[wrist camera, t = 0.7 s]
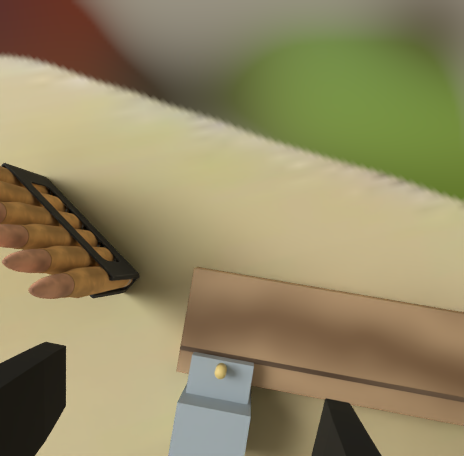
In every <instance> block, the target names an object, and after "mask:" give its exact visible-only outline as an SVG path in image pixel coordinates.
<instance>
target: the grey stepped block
mask: <svg viewBox="0 0 464 456" xmlns="http://www.w3.org/2000/svg"><path fill="white" fill-rule="evenodd" d="M253 369H254V363H252V362H247V361H241V360H236V359H230V358H225V357H220V356H214V355H209V354H203V353H198V352H194V353H193V354H192V359H191V364H190V370H189V376H188V382H187V385H186V386H185V388H184V390H183V392H182V394H181V396H180V398H179V400H178V402H177V408H176V414H175V420H174V425H173V431H172V437H171V443H170V449H169V455H168V456H245V449H246V443H247V437H248V431H249V424H250V418H251V381H252V375H253Z"/></svg>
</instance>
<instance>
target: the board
mask: <svg viewBox="0 0 464 456" xmlns="http://www.w3.org/2000/svg"><path fill="white" fill-rule="evenodd" d="M194 352H198V353H203V354H209V355H214V356H220V357H225V358H230V359H236V360H241V361H247V362H252V363H254V369H253V375H252V381H251V386H256V387H261V388H267V389H272V390H277V391H283V392H288V393H293V394H299V395H304V396H309V397H314V398H320V399H326V398H328V399H333V400H337V401H342V402H347V403H350V404H351V405H357V406H362V407H367V408H373V409H378V410H383V411H389V412H394V413H399V414H404V415H410V416H415V417H420V418H426V419H431V420H436V421H441V422H447V423H452V424H457V425H463V426H464V312H458V311H452V310H446V309H441V308H435V307H429V306H423V305H417V304H411V303H405V302H400V301H394V300H388V299H382V298H376V297H370V296H364V295H359V294H353V293H347V292H341V291H335V290H329V289H323V288H318V287H312V286H306V285H300V284H294V283H288V282H283V281H277V280H271V279H265V278H259V277H253V276H247V275H242V274H236V273H230V272H224V271H218V270H212V269H206V268H201V267H196V268H194V272H193V277H192V283H191V289H190V295H189V301H188V306H187V312H186V318H185V324H184V330H183V335H182V341H181V347H180V353H179V359H178V365H177V370H176V371H177V372H182V373H187V374H189V370H190V364H191V359H192V354H193V353H194Z"/></svg>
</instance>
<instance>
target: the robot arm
mask: <svg viewBox="0 0 464 456" xmlns="http://www.w3.org/2000/svg"><path fill="white" fill-rule="evenodd" d="M65 406H66V346H64V345H59V344H54V343H49V342H44V343H42V344H39V345H37V346H35V347H33V348H31V349H29V350H27V351H24V352H22V353H20V354H18V355H16V356H14V357H12V358H10V359H8V360H6V361H4V362H2V363H0V456H35V455H36V453H37V452H38V451H39V449H40V448H41V446H42V445H43V444H44V442H45V441H46V439H47V437H48V436H49V434H50V432H51V431H52V429H53V427H54V426H55V424H56V422H57V421H58V419H59V417H60V415H61V413H62V412H63V410H64V408H65ZM312 456H381V454H380V453H379V451H378V449H377V448H376V446H375V444H374V443H373V441H372V440H371V438H370V436H369V435H368V433H367V431H366V430H365V428H364V426H363V425H362V423H361V421H360V420H359V418H358V416H357V414H356V413H355V411H354V409H353V408H352V406H351V405H350V403H347V402H342V401H337V400H333V399H328V398H326V399H325V403H324V407H323V411H322V415H321V419H320V423H319V427H318V431H317V435H316V439H315V444H314V448H313V452H312Z"/></svg>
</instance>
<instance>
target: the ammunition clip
mask: <svg viewBox="0 0 464 456" xmlns="http://www.w3.org/2000/svg"><path fill="white" fill-rule="evenodd" d="M0 247H6V248H14V249H23V250H22V251H18V252H15V253H12V254H10V255H8V256H7V257H5V258H4V259H3V260H2V263H3V265H4V266H6V267H7V268H9V269H12V270H15V271H18V272H26V273H47V274H51V275H50V276H47V277H44V278H41V279H39V280H38V281H36V282H35V283H33V284H32V285H31V286H30V288H29V290H28V291H29V293H30V294H31V295H33V296H36V297H39V298H46V299H56V298H65V297H73V298H80V297H84V296H88V295H90V296H91V297H92V298H98V297H104V296H109V295H115V294H120V293H124V292H125V291H126V290H127V289H128V288H129V287H130V286H131V285H132V284H133V283H134V282H135V281H136V280H137V279H138V278H139V273H138V272H137V271H136V270H135V269H134V268H133V267H132V266H131V265H130V264H129V263H128V262H127V261H126V260H125V259H124V258H123V257H122V256H121V255H120V254H119V253H118V252H117V251H116V249H115V248H114V247H113V246H112V245H111V244H110V243H109V242H108V241H107V240H106V239H105V238H104V237H103V236H102V235H101V234H100V233H99V232H98V231H97V230H96V229H95V228H94V227H93V226H92V225H91V224H90V223H89V221H88V220H87V219H86V218H85V217H84V216H83V215H82V214H81V213H80V212H79V211H78V210H77V209H76V208H75V207H74V206H73V205H72V204H71V203H70V202H69V201H68V200H67V199H66V198H65V197H64V196H63V194H62V193H61V192H60V191H59V190H58V189H57V188H56V187H55V186H54V185H53V184H52V183H51V182H50V181H49V180H48V179H47V178H46V177H44V176H41V175H38V174H36V173H33V172H30V171H27V170H24V169H21V168H18V167H15V166H12V165H9V164H6V163H4V164H3V165H2V166H0Z"/></svg>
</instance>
